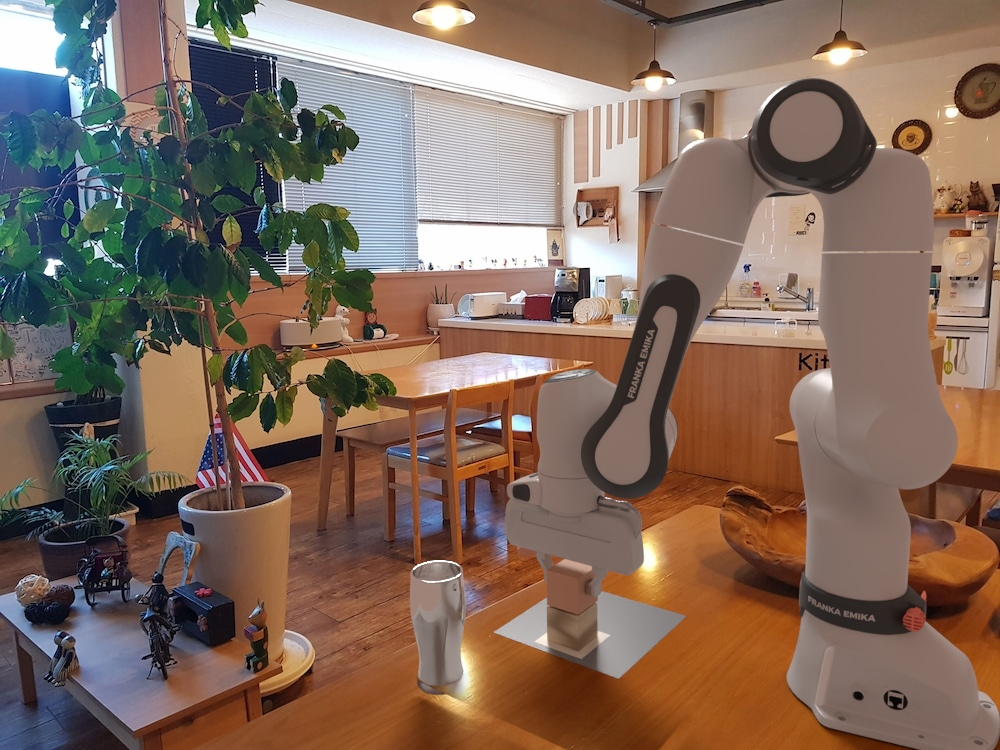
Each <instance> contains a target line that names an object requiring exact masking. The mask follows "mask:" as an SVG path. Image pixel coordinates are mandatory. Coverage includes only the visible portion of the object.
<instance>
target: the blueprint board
mask: <svg viewBox="0 0 1000 750" xmlns="http://www.w3.org/2000/svg"><path fill="white" fill-rule="evenodd" d="M547 606H548V605H547V597H545V598H543V600H541V601H539V602H537V603H536V604H535V605H533V606H531V607H530V608H528V609H527V610H526V611H524V612H522V613H521V614H519V615H518V616H516V617H515V618H513V619H511V620H510V621H508V622H507V623H505V624H504V625H502V626H500V627H499V628H498V629H497V630H496V629H495V631H493V633H494V634H497V635H499V636H502V637H503V638H507V639H510V640H513V641H515V642H517V643H521V644H523V645H526V646H528V647H531V648H534V649H536V650H539V651H542V652H544V653H548V654H550V655H552V656H556V657H558V658H561V659H563V660H566V661H569V662H571V663H574V664H577V665H580V666H582V667H586V668H587V669H590V670H593V671H596V672H598V673H601V674H604V675H607V676H610V677H611V678H615V679H618V680H619V679H620V678H622V677H623V676H624V675H625V674H626V673H627V672H628V671H629V670H631V668H632V667H634V665H636V663H638V662H639V661H641V660H642V658H643V657H644V656H646V654H648V653H649V651H651V650H652V649H653V648H654V647H655V646H657V644H658V643H659V642H660V641H662V640H663V639H664V638H665V637H666V636H667V635H668V634H669V633H670V632H672V630H674V629H675V627H677V626H678V625H679V624H680V623H681V622H683V620H685V619H686V618H687V615H684V614H681V613H677V612H674V611H672V610H667V609H664V608H661V607H657V606H654V605H650V604H647V603H643V602H640V601H636V600H633V599H630V598H627V597H626V598H625V597H624V596H620V595H616V594H614V593H611V592H610V593H609V592H606V591H603V590H601V594H600V595H598V601H597V619H598V636H597V637H596V638H595V639H594V640H592V641H591V642H590V643H588V644H587V645H586V646H585V647H583V648H582V649H581V650H580V651H575V650H572V649H569V648H567V647H564V646H561V645H558V644H555V643H553V642H550V641H547Z"/></svg>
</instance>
